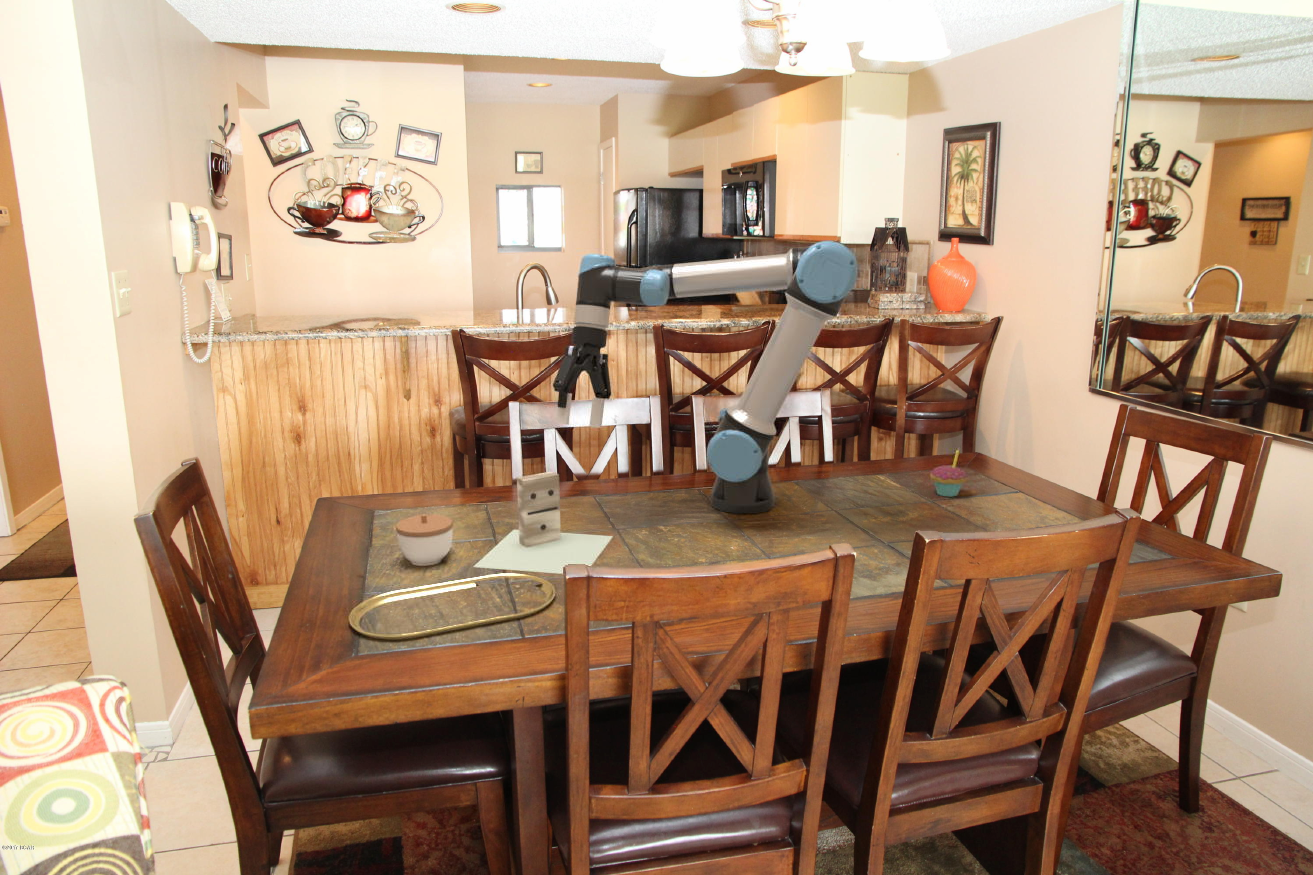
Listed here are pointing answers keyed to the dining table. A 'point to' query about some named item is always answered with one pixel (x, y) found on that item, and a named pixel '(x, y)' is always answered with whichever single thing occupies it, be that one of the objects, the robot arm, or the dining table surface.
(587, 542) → the mat
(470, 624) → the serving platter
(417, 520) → the lidded jar
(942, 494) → the cupcake
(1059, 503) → the dining table surface
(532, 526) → the domino
